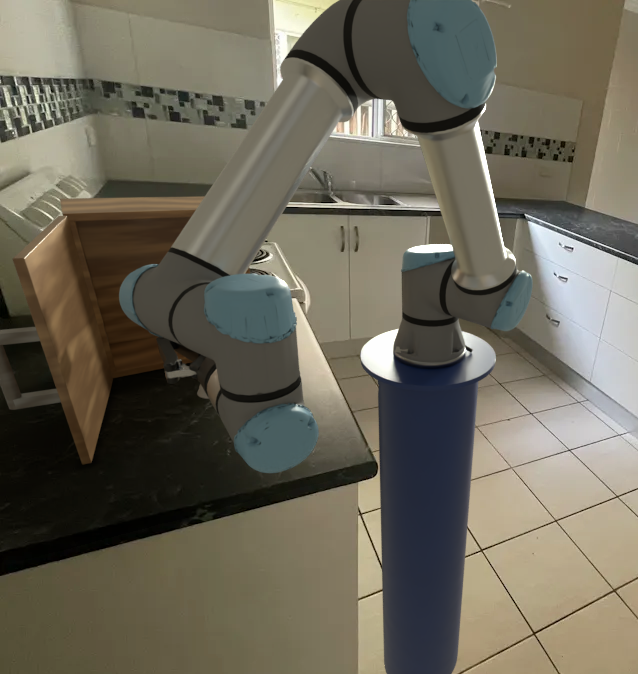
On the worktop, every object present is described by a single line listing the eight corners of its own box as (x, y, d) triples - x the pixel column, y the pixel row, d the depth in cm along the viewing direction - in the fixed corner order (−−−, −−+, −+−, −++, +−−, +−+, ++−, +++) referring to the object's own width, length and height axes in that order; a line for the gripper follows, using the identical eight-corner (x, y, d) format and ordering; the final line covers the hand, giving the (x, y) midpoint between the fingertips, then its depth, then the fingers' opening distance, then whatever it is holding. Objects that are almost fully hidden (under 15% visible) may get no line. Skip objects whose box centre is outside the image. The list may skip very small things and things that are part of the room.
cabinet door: (28, 476, 60) (-58, 261, 49) (66, 386, 79) (9, 216, 67) (91, 462, 63) (24, 258, 52) (113, 379, 82) (67, 215, 71)
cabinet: (260, 348, 98) (241, 208, 86) (109, 379, 82) (62, 213, 71) (241, 325, 107) (221, 196, 95) (102, 349, 92) (59, 198, 80)
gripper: (158, 433, 53) (130, 354, 69) (316, 388, 65) (262, 330, 80) (143, 374, 50) (117, 306, 66) (312, 339, 62) (256, 288, 77)
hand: (197, 319), depth 73 cm, fingers closed on chalice, 5 cm apart
